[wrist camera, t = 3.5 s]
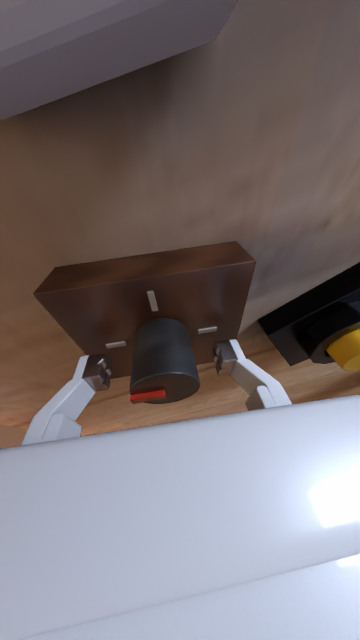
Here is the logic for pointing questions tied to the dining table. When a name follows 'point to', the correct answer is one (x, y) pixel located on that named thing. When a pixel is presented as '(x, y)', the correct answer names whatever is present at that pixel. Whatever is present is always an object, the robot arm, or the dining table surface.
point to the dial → (162, 363)
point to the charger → (93, 42)
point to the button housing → (316, 319)
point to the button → (346, 351)
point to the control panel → (150, 299)
